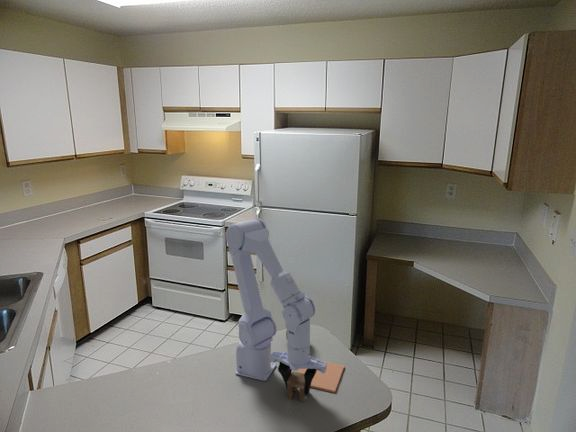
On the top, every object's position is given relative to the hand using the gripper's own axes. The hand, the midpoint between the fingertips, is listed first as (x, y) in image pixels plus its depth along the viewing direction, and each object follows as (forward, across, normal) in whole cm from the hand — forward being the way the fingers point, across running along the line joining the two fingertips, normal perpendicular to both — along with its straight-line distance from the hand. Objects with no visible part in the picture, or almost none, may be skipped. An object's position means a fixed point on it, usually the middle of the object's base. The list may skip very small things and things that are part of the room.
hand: (298, 390), depth 105 cm
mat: (+1, +3, +10) cm, 11 cm away
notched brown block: (+1, 0, 0) cm, 1 cm away
